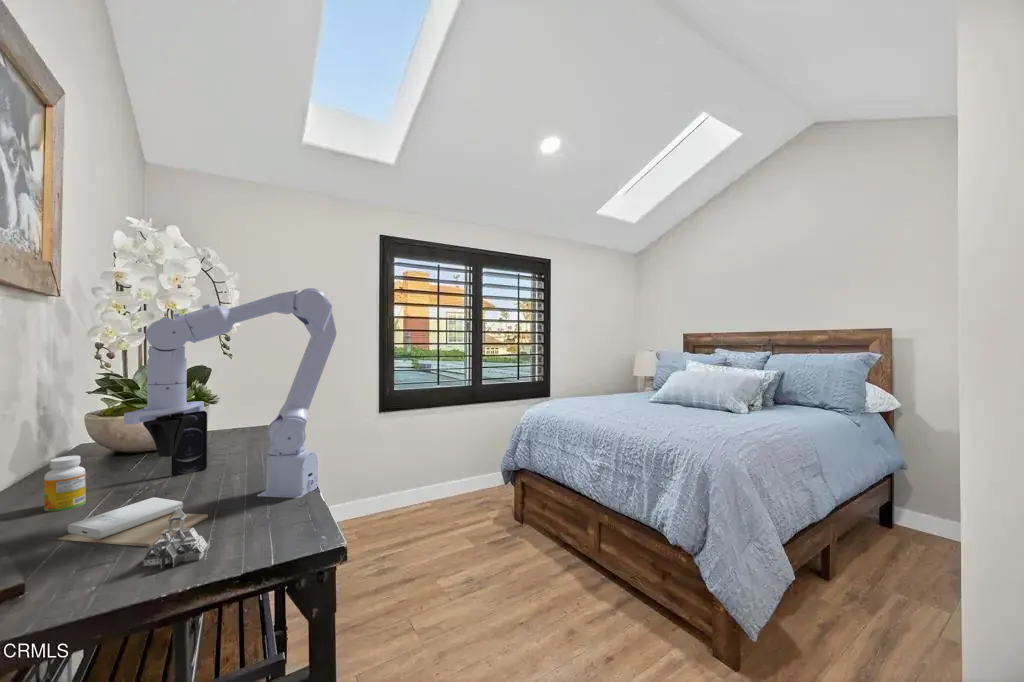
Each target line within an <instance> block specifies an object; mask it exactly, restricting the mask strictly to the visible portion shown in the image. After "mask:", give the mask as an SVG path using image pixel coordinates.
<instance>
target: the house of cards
mask: <svg viewBox="0 0 1024 682" xmlns="http://www.w3.org/2000/svg"><path fill="white" fill-rule="evenodd" d="M174 513H177V514H178V515H179V516H180V517H173V515H174ZM185 514H186V513H184V512H183V509H182V510H181V509H180V507H178V508H177V509H175V510H174V512H173V514H172V515H171V517H170V518H169V520H168V521H169V530H165V531H164V532H162V533H161V535H160V536H159V538H158V539H157V541H156V543H155V544H154V545H153V546H151V547H150V549H149V550H148V552H147V554H146V555H145V556H144V558H143V559H142V560H141V561H142V562H141V563H142V566H141V567H148V566H158V565H159V566H160V570H162V569H164V567H165V566H166V564H167V565H168V563H169V564H170V565H172V568H175V566H177V565H178V563H181V561H183V562H192V561H200V560H201V559H202V558H203V557H204V556H205V555H207V551H208V550H209V548H210V546H209V545H210V543H211V542H209V541H207V542H206V540H205V539H204V537H203V536H202V535H199V534H198V531H196V529H195V528H194V527H189V528H184V518H185V517H186V516H185ZM175 520H180V529H173V521H175ZM173 532H175V534H174V535H173V536H171V537H170V536H169V534H168V533H173ZM184 532H185V533H187V534H186V535H185V534H184ZM190 534H191V536H189V535H190ZM161 536H163V538H164V539H160V538H161ZM176 536H177V538H175V537H176ZM159 539H160V540H159ZM191 560H192V561H191Z"/></svg>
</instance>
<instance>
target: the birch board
mask: <svg viewBox="0 0 1024 682" xmlns="http://www.w3.org/2000/svg"><path fill="white" fill-rule="evenodd" d="M172 514H173V513H171V514H168V515H165V516H162V517H160V518H157V519H154V520H151V521H149V522H146V523H143V524H140V525H138V526H135V527H132V528H130V529H127V530H124V531H121V532H118V533H116V534H113V535H110V536H107V537H104V538H101V539H95V538H91V537H85V536H81V535H76V534H71V533H69V534H66V535H64V536H61V537H59V538H58V540H61V541H75V542H87V543H99V544H110V545H122V546H134V547H147V548H148V547H149V548H152V547H153V546H154V544H155V543H156V541H157V539H158V538H159V536H160V535H161V533H162V532H164V531H165V530H169V521H168V520H169V518H170V517H171V515H172ZM184 514H185V516H186V517H185V518H184V528H192V526H195V525H197V524H198V523H201V522H202V521H205V520H206V519H208V517H209V515H208V514H205V513H203V514H201V513H184ZM173 517H180V516H179V515H178V514H177V512H175V513H174V515H173ZM173 529H180V520H175V521H173ZM168 534H169V536H170V537H171V538H172V537H173V535H174V534H175V532H173V533H168ZM160 539H164V538H163V536H161V538H160ZM160 539H159V540H160Z"/></svg>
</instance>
